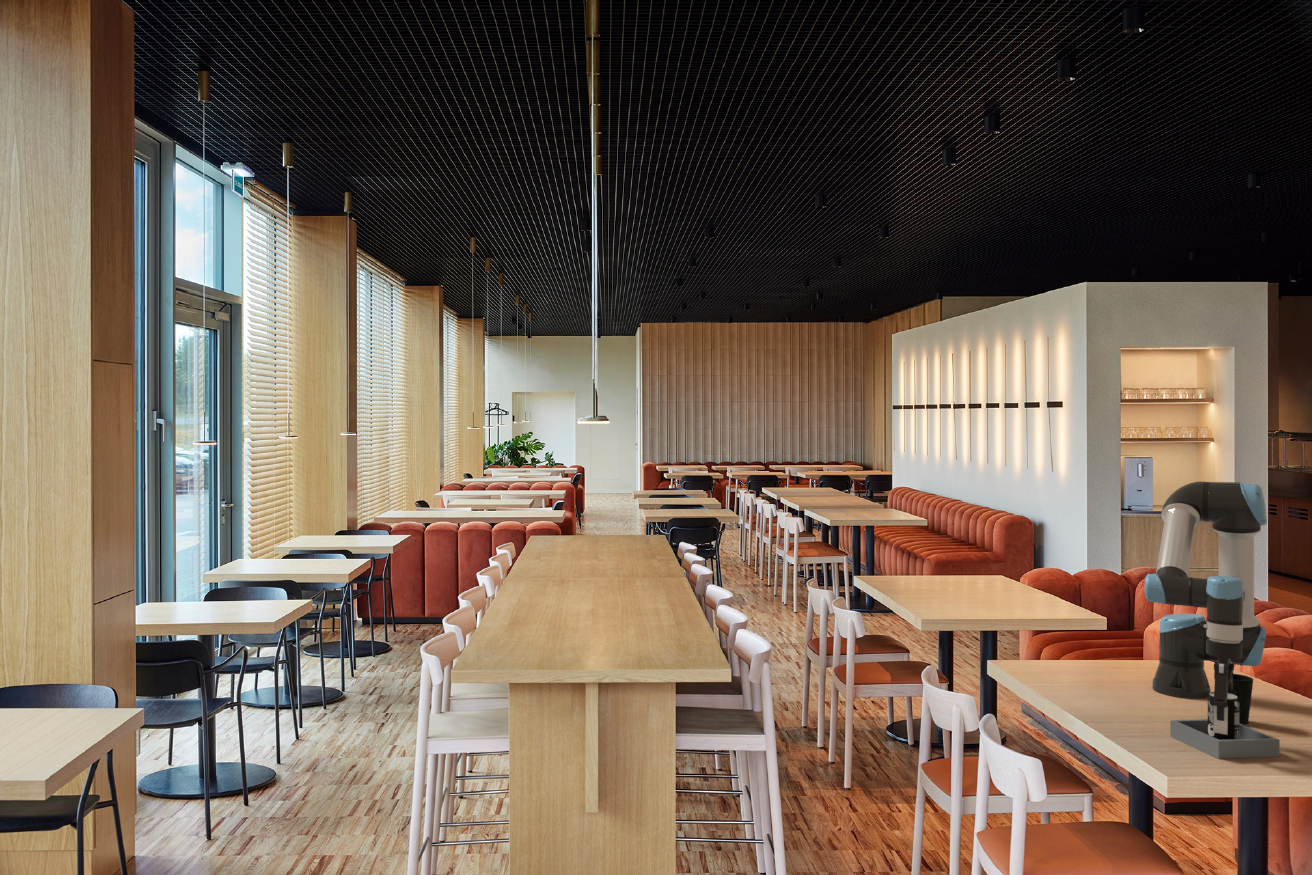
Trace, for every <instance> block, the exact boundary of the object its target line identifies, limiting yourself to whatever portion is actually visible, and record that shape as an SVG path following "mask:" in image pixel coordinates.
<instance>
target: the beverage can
mask: <svg viewBox="0 0 1312 875" xmlns="http://www.w3.org/2000/svg"><path fill="white" fill-rule="evenodd" d="M1213 701H1214V691H1211V693H1210V696H1209V697H1208V698H1207V719H1208V725H1207V735H1209V736H1212V737H1214V738H1216V739H1219V740H1229V739H1239V707H1240V704H1239V702H1238V700H1237V696H1235V695H1233V694H1229V693H1228V695H1227V707H1228V727H1227V735H1226V734H1220V733H1214V706H1213V705H1211V702H1213ZM1220 701H1222V700H1220Z"/></svg>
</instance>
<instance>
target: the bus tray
mask: <svg viewBox="0 0 1312 875" xmlns="http://www.w3.org/2000/svg"><path fill="white" fill-rule="evenodd" d="M1207 725H1208V718H1205V719H1203V718H1202V719H1201V718H1200V719H1171V720H1170V737H1171V738H1173V739H1175V740H1176V741H1177V740H1178V741H1179V742H1181V743H1184V744H1186V745H1187V746H1190V747H1192V748H1194V749H1196V750H1199V751H1201V752H1203V753H1205V754H1207V755H1210V756H1212V757H1214V758H1216V759H1218V760H1221V759H1222V760H1223V759H1225V760H1226V759H1248V758H1249V759H1251V758H1279V757H1280V739H1279V738H1277V737H1275V736H1271V735H1269V734H1267V733H1265V732H1262V731H1259V730H1257V729H1254V728H1252V727H1249V726H1247V725H1242V724H1240V723H1239V739H1229V740H1219V739H1216V738H1214V737H1212V736H1209V735H1207Z"/></svg>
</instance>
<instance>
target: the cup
mask: <svg viewBox="0 0 1312 875" xmlns="http://www.w3.org/2000/svg"><path fill="white" fill-rule="evenodd" d="M1233 686H1234V688H1233V689H1234V690H1236V694H1233V695H1235V696H1237V700H1238V702H1239V704H1240V707H1239V723H1240V724H1242V725H1245V726H1247V725H1248V724H1249V720H1250V710H1251V703H1252V694H1253V693H1252V692H1253V688H1254V687H1253V686H1254V678H1253V677H1250V676H1248V675H1245V674H1244V675H1243V674H1240V673H1239V674H1238V673H1233ZM1230 694H1232V693H1230Z"/></svg>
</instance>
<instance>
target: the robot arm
mask: <svg viewBox="0 0 1312 875" xmlns="http://www.w3.org/2000/svg"><path fill="white" fill-rule="evenodd" d="M1267 518H1268V517H1267V510H1266V502H1265V498H1264V492H1263V488H1262V486H1260V485H1259V484H1257V483H1250V482H1249V483H1247V482H1243V481H1241V482H1239V481H1237V482H1234V481H1232V482H1231V481H1194V482H1190V483H1187V484H1184V485H1183V486H1181V487H1179V488H1178V489H1176V490H1175V491H1173V492H1172V493H1171V494H1170V495H1169V497H1167V499H1166V500H1165V502H1164V504H1163V506H1162V509H1161V520H1162V522H1163V528H1162V535H1161V541H1160V547H1159V552H1158V559H1157V564H1156V571H1155V573H1148V574H1146V576H1145V578H1144V597H1145V599H1146V600H1147V602H1151V603H1155V604H1162V605H1172V606H1184V607H1185V606H1186V607H1194V608H1202V609H1206V618H1205V616H1204V615H1203V614H1199V613H1198V614H1195V613H1173V614H1166V615H1165V616H1162V617H1161V619H1160V620H1159V629H1158V633H1159V649H1158V650H1159V651H1158V652H1159V653H1158V654H1159V655H1158V656H1159V658H1158V661H1159V662H1158V666H1157V669H1156V671H1155V674H1154V678H1152V681H1151V682H1152V683H1151V684H1152V689H1153V691H1156V692H1157V693H1161V694H1164V695H1166V696H1167V695H1168V696H1171V697H1177V698H1185V699H1208V698H1209V696H1210V693H1211V692H1212V691H1211V690H1212V689H1211V685H1210V683H1209V678H1208V676H1207V673H1206V671H1205V661H1207V662H1214V663H1213V671H1214V672H1213V676H1214V677H1213V678H1214V690H1213V692H1214V701H1213V702H1211V705H1213V706H1214V733H1220V734H1226V735H1227V727H1228V707H1227V695H1228V693H1229V694H1230V693H1232V694H1236V690H1234V689H1233V688H1234V686H1233V674H1234V671H1235V665H1238V666H1241V667H1242V666H1247V667H1258V666H1259V665H1260V664H1261V663H1262V660H1263V654H1264V650H1265V649H1264V648H1265V641H1266V636H1267V628H1266V627H1265V626H1262V625H1261V620H1260V619H1259V617H1257V616H1256V615H1255V536H1256V535H1257V534H1258V533H1260V532H1261V530H1262V529H1261V528H1262V526H1264V525H1265V526H1266V525H1267V524H1268V523H1267V522H1268V519H1267ZM1200 522H1204V523H1206V522H1207V523H1211V524H1212V526H1211V528H1212V530H1213V531H1215V533H1217V534H1218V575H1211V576H1209V577H1208V578H1202V577H1201V578H1200V577H1192V576H1190V566H1191V558H1192V550H1193V543H1194V537H1195V536H1194V535H1195V528H1196V527H1197V526H1198V525H1199V523H1200ZM1220 700H1222V701H1220Z"/></svg>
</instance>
